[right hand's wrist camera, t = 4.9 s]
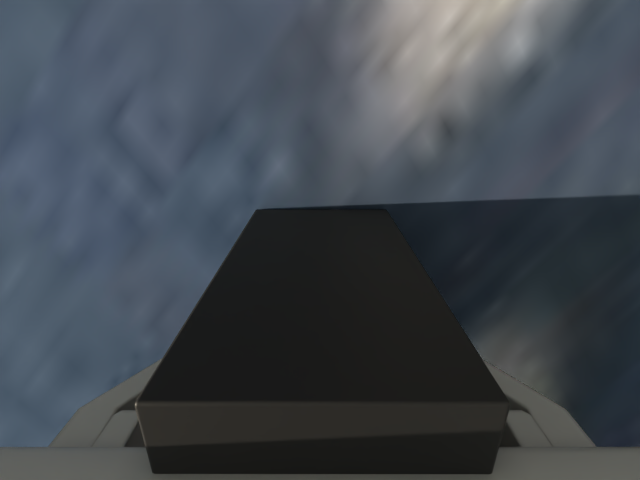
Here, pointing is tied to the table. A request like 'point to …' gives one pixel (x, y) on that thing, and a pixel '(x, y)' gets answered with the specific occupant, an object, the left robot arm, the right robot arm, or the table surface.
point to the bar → (322, 361)
